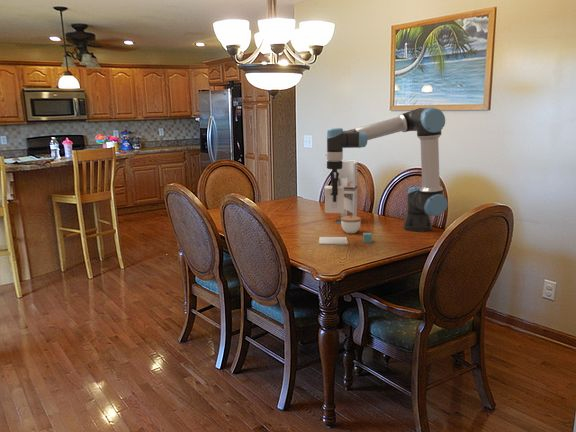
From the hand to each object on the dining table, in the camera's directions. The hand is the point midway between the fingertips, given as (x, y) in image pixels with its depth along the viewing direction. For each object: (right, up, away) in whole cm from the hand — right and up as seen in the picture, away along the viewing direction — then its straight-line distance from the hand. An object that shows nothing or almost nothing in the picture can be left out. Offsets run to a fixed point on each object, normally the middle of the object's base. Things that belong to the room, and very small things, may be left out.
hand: (334, 206), depth 231 cm
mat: (0, -17, +4) cm, 18 cm away
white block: (0, -2, +1) cm, 2 cm away
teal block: (+17, -18, +3) cm, 24 cm away
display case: (+12, -8, +46) cm, 48 cm away
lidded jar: (+11, -14, +22) cm, 28 cm away
